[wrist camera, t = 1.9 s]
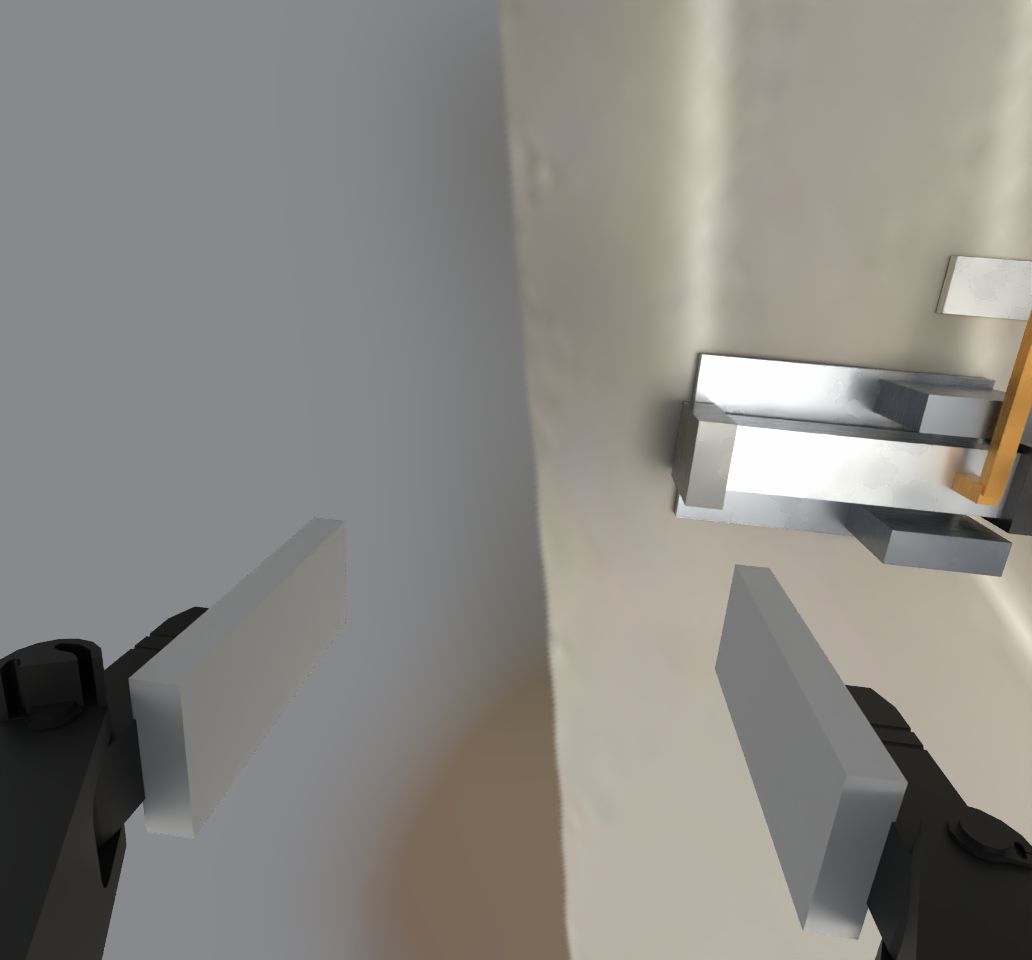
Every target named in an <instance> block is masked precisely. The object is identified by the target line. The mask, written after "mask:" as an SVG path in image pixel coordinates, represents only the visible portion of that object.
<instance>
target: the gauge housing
mask: <svg viewBox="0 0 1032 960" xmlns="http://www.w3.org/2000/svg"><path fill="white" fill-rule="evenodd" d="M1031 310H1032V262H1030V261H1016V260H1003V259H990V258H977V257H963V256H952V257H950V261H949V265H948V269H947V273H946V276H945V280H944V284H943V288H942V292H941V295H940V299H939V303H938V307H937V310H936V313H945V314H957V315H969V316H981V317H993V318H1006V319H1018V320H1028V319H1029V316H1030V313H1031ZM994 383H995V380H990V379H986V378H977V377H965V376H954V375H943V374H932V373H920V372H909V371H898V370H887V369H875V368H864V367H853V366H842V365H830V364H819V363H808V362H797V361H785V360H774V359H763V358H752V357H740V356H729V355H718V354H707V353H699V359H698V366H697V372H696V378H695V384H694V391H693V397H692V402H697V403H707V404H716V405H717V406H718V407H719V408H721V409H722V410H723V411H724V412H725V413H726V414H730V415H740V416H751V417H761V418H771V419H782V420H792V421H803V422H813V423H824V424H834V425H845V426H855V427H866V428H876V429H887V430H897V431H908V432H918V433H929V434H939V435H949V436H960V437H970V438H982V439H992V437H993V433H994V430H995V427H996V424H997V420H998V417H999V414H1000V411H1001V407H1002V404H1003V401H1004V398H1005V394H1006V393H1005V392H1002V391H998V390H994V389H993V387H994ZM1020 442H1024V443H1032V406H1031V409H1030V412H1029V415H1028V418H1027V421H1026V425H1025V428H1024V431H1023V434H1022V437H1021V440H1020ZM674 513H675V516H676V517H679V518H688V519H697V520H707V521H716V522H725V523H734V524H744V525H753V526H762V527H772V528H781V529H790V530H799V531H809V532H818V533H827V534H836V535H846V536H855V537H856V538H857V539H858V540H859V541H860V542H861V543H862V544H863V545H864V546H865V547H866V548H867V549H868V550H869V551H870V552H872V553H873V554H874V555H875V556H876V557H877V558H878V559H879V560H880V561H881V562H882V563H883V564H890V565H900V566H909V567H918V568H927V569H936V570H945V571H954V572H963V573H972V574H981V575H990V576H999V577H1001V576H1002V573H1003V570H1004V567H1005V564H1006V561H1007V558H1008V555H1009V552H1010V549H1011V546H1012V543H1011V542H1010V541H1008V540H1006V539H1005V538H1003V537H1001V536H1000V535H998V534H997V533H995V532H993V531H992V530H990V529H988V528H987V527H985V526H983V525H982V524H980V523H979V522H977V521H975V520H974V519H972V518H970V517H969V516H967V515H963V514H953V513H944V512H934V511H925V510H915V509H905V508H896V507H886V506H877V505H867V504H857V503H848V502H838V501H829V500H819V499H809V498H800V497H790V496H781V495H771V494H761V493H752V492H742V491H733V490H726V493H725V498H724V504H723V509H722V510H718V509H708V508H699V507H690V506H685V504H684V502H683V500H682V498H681V495H680V493H679V491H678V490H677V496H676V502H675V509H674Z"/></svg>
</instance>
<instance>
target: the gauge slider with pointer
mask: <svg viewBox="0 0 1032 960" xmlns="http://www.w3.org/2000/svg"><path fill="white" fill-rule="evenodd" d="M1031 406H1032V310H1031V313H1030V316H1029V319H1028V323H1027V326H1026V329H1025V332H1024V336H1023V339H1022V342H1021V345H1020V349H1019V352H1018V355H1017V358H1016V362H1015V365H1014V368H1013V372H1012V375H1011V378H1010V381H1009V385H1008V388H1007V391H1006V394H1005V398H1004V401H1003V404H1002V407H1001V411H1000V414H999V417H998V420H997V424H996V427H995V430H994V433H993V437H992V439H981V438H970V437H960V436H949V435H939V434H929V433H918V432H908V431H897V430H887V429H876V428H866V427H855V426H845V425H834V424H824V423H813V422H803V421H792V420H782V419H771V418H761V417H751V416H740V415H730V414H726V413H725V412H724V411H723V410H722V409H721V408H719V407H718V406H717V405H716V404H707V403H697V402H686V401H683V404H682V411H681V417H680V423H679V430H678V436H677V443H676V449H675V455H674V462H673V468H672V474H671V475H672V477H673V480H674V482H675V484H676V486H677V489H678V491H679V493H680V495H681V498H682V500H683V502H684V504H685V506H690V507H699V508H708V509H718V510H722V509H723V504H724V498H725V493H726V490H733V491H742V492H752V493H761V494H771V495H781V496H790V497H800V498H809V499H819V500H829V501H838V502H848V503H857V504H867V505H877V506H886V507H896V508H905V509H915V510H925V511H934V512H944V513H953V514H963V515H973V516H980V517H982V518H984V519H985V520H987V521H989V522H990V523H992V524H994V525H996V526H997V527H999V528H1001V529H1002V530H1004V531H1006V532H1007V533H1011V534H1020V535H1030V536H1032V443H1024V442H1020V440H1021V437H1022V434H1023V431H1024V428H1025V425H1026V421H1027V418H1028V415H1029V412H1030V409H1031Z"/></svg>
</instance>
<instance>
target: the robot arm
mask: <svg viewBox="0 0 1032 960" xmlns="http://www.w3.org/2000/svg"><path fill="white" fill-rule="evenodd" d="M345 568H346V563H345V521H342V520H333V519H324V518H315V517H314V518H313V519H312V520H311V521H310V522H309V523H307V524H306V525H305V526H304V527H303V528H302V529H301V530H299V531H298V532H297V533H296V534H295V535H294V536H292V538H290V539H289V540H288V541H287V542H285V543H284V544H283V545H282V546H281V547H280V548H279V549H277V550H276V551H275V552H274V553H273V554H272V555H270V556H269V557H268V558H267V559H266V560H265V561H264V562H262V563H261V564H260V565H259V566H258V567H257V568H256V569H254V570H253V571H252V572H251V573H250V574H249V575H247V576H246V577H245V578H244V579H243V580H242V581H240V582H239V583H238V584H237V585H236V586H235V587H234V588H232V589H231V590H230V591H229V592H228V593H227V594H225V595H224V596H223V597H222V598H221V599H220V600H219V601H217V602H216V603H215V604H214V605H213V606H212V607H211V608H203V607H193V608H191V609H189V610H186V611H184V612H182V613H180V614H177V615H175V616H173V617H171V618H169V619H167V620H166V621H165V622H164V623H162V624H161V625H160V626H159V627H158V628H156V629H155V630H154V631H153V632H151V633H150V636H149V637H148V636H146V637H145V638H144V639H143V640H141V641H140V642H139V643H138V644H136V645H135V648H134V649H130V650H129V651H128V652H126V653H125V654H124V655H123V656H121V657H120V658H119V659H118V660H117V661H115V662H114V663H113V664H112V665H110V666H109V667H108V668H107V669H105V670H104V667H103V659H102V652H101V648H100V647H99V646H97V645H96V644H95V643H94V642H91V641H86V640H81V639H57V640H52V641H47V642H41V643H37V644H34V645H31V646H28V647H25V648H22V649H19V650H17V651H15V652H13V653H12V654H10V655H8V656H6V657H4V658H2V659H0V960H102V956H103V951H104V947H105V942H106V937H107V933H108V928H109V924H110V919H111V914H112V910H113V905H114V901H115V896H116V891H117V887H118V882H119V877H120V873H121V868H122V863H123V859H124V854H125V850H126V834H125V827H124V823H125V822H126V821H127V819H128V818H129V817H130V816H131V815H132V814H133V812H134V811H135V810H136V809H137V808H138V807H139V805H140V804H141V803H142V802H143V806H144V814H145V822H146V830H147V832H153V833H160V834H167V835H174V836H179V837H186V838H193V839H194V837H195V836H196V834H197V833H198V832H199V830H200V829H201V827H202V826H203V825H204V823H205V822H206V821H207V819H208V818H209V816H210V815H211V813H212V812H213V811H214V809H215V808H216V806H217V805H218V804H219V802H220V801H221V799H222V798H223V796H224V795H225V794H226V792H227V791H228V789H229V788H230V786H231V785H232V784H233V782H234V781H235V779H236V778H237V776H238V775H239V774H240V772H241V771H242V769H243V768H244V767H245V765H246V764H247V762H248V761H249V760H250V758H251V757H252V755H253V754H254V752H255V751H256V750H257V748H258V747H259V745H260V744H261V742H262V741H263V739H264V738H265V737H266V735H267V734H268V733H269V731H270V730H271V728H272V727H273V725H274V724H275V723H276V721H277V720H278V718H279V717H280V716H281V714H282V713H283V711H284V710H285V708H286V707H287V705H288V704H289V703H290V701H291V700H292V698H293V697H294V696H295V694H296V693H297V691H298V690H299V688H300V687H301V686H302V684H303V683H304V681H305V680H306V679H307V677H308V676H309V674H310V672H311V671H312V670H313V669H314V667H315V666H316V664H317V663H318V662H319V660H320V659H321V657H322V656H323V654H324V653H325V652H326V650H327V649H328V647H329V646H330V645H331V643H332V642H333V640H334V639H335V637H336V636H337V635H338V633H339V631H340V630H341V629H342V627H343V626H344V625H345V623H346V614H345V613H346V602H345V601H346V599H345V597H346V595H345V594H346V589H345V588H346V573H345V572H346V569H345ZM715 670H716V673H717V676H718V679H719V682H720V685H721V688H722V691H723V694H724V697H725V700H726V703H727V706H728V709H729V712H730V715H731V718H732V721H733V724H734V727H735V730H736V733H737V736H738V739H739V742H740V745H741V748H742V751H743V754H744V757H745V760H746V763H747V765H748V768H749V771H750V774H751V777H752V780H753V783H754V786H755V789H756V792H757V795H758V798H759V801H760V804H761V807H762V810H763V813H764V816H765V819H766V822H767V825H768V828H769V831H770V834H771V837H772V840H773V843H774V846H775V849H776V852H777V855H778V858H779V861H780V864H781V867H782V870H783V873H784V876H785V879H786V882H787V885H788V888H789V891H790V894H791V897H792V900H793V903H794V906H795V909H796V912H797V915H798V918H799V921H800V924H801V927H802V930H803V931H805V932H811V933H818V934H824V935H831V936H837V937H844V938H851V939H857V940H858V938H859V935H860V932H861V929H862V926H863V923H864V920H865V916H866V913H867V910H868V908H869V910H870V912H871V914H872V916H873V919H874V921H875V923H876V925H877V927H878V930H879V932H880V934H881V936H882V940H881V943H880V946H879V949H878V952H877V955H876V958H875V960H1032V846H1031V845H1030V844H1029V843H1028V842H1027V841H1026V839H1025V838H1024V837H1023V836H1022V835H1020V834H1019V833H1018V832H1016V831H1015V830H1013V829H1012V828H1011V827H1009V826H1008V825H1007V824H1005V823H1004V822H1002V821H1001V820H999V819H997V818H995V817H993V816H991V815H989V814H987V813H985V812H983V811H981V810H979V809H975V808H972V807H969V806H967V805H966V803H965V802H964V801H963V799H962V798H961V797H960V795H959V794H958V792H957V791H956V790H955V788H954V787H953V786H952V784H951V783H950V781H949V780H948V779H947V777H946V776H945V775H944V773H943V772H942V770H941V769H940V768H939V766H938V765H937V764H936V762H935V761H934V760H933V758H932V757H931V755H930V754H929V753H928V751H927V750H924V749H923V744H922V743H921V742H920V740H919V739H918V738H917V736H916V735H915V733H914V732H911V728H910V727H909V725H908V724H907V722H906V721H905V720H904V718H903V717H902V716H901V714H900V713H899V712H898V710H897V709H896V707H894V706H893V705H892V704H890V703H889V702H888V701H887V700H885V699H884V698H883V697H881V696H880V695H879V694H878V693H876V692H875V691H874V690H872V689H871V688H865V687H857V686H849V685H845V684H844V683H843V681H842V680H841V678H840V677H839V675H838V673H837V672H836V670H835V669H834V667H833V666H832V664H831V663H830V661H829V660H828V658H827V656H826V655H825V653H824V652H823V650H822V649H821V647H820V646H819V644H818V642H817V641H816V639H815V638H814V636H813V635H812V633H811V632H810V630H809V628H808V627H807V625H806V624H805V622H804V621H803V619H802V618H801V616H800V615H799V613H798V611H797V610H796V608H795V607H794V605H793V604H792V602H791V601H790V599H789V597H788V596H787V594H786V593H785V591H784V590H783V588H782V587H781V585H780V583H779V582H778V580H777V579H776V577H775V576H774V574H773V573H772V571H771V570H770V568H764V567H755V566H746V565H737V564H735V569H734V574H733V579H732V584H731V589H730V595H729V600H728V605H727V610H726V615H725V620H724V625H723V630H722V636H721V641H720V646H719V651H718V656H717V661H716V666H715Z"/></svg>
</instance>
